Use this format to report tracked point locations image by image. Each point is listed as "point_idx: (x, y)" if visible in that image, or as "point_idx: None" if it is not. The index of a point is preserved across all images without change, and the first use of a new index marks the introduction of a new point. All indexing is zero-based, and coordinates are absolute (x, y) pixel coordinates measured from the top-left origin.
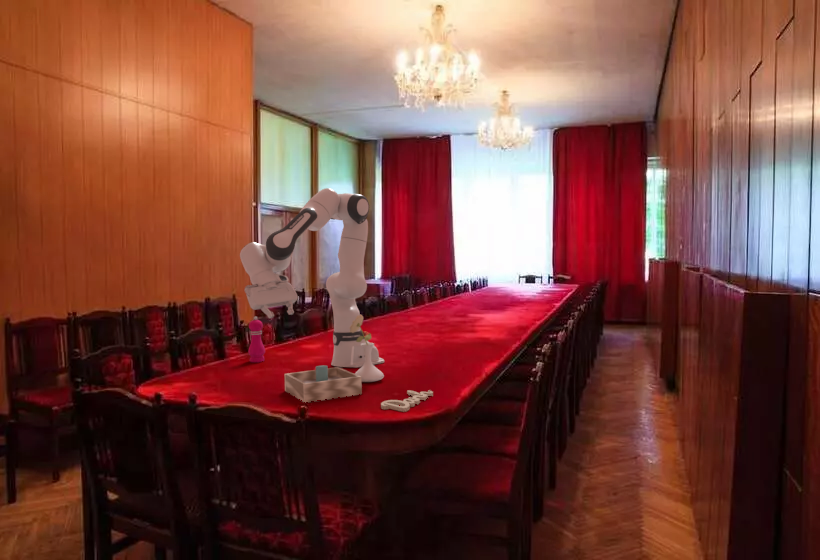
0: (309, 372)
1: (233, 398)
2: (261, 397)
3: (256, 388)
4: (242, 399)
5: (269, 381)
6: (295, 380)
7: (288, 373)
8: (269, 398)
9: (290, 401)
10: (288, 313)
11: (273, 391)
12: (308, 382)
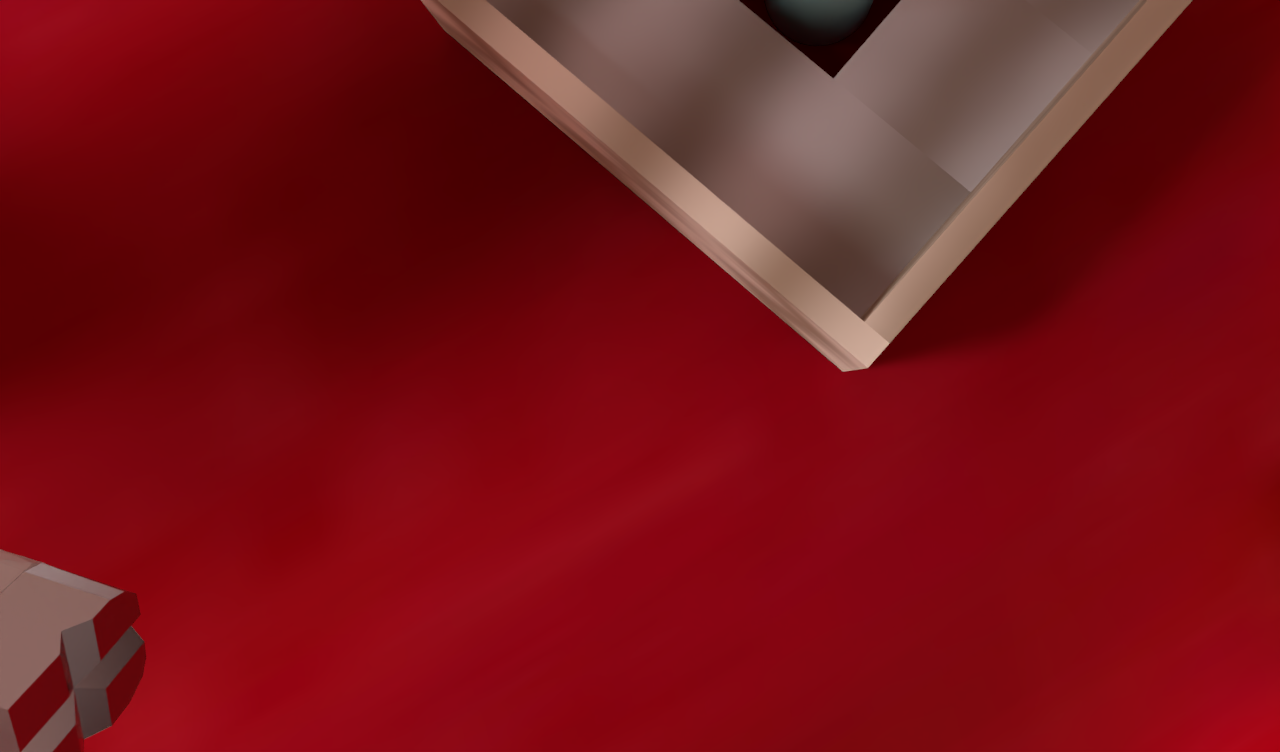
0: (675, 162)
1: (1227, 699)
2: (1124, 456)
3: (809, 708)
4: (1239, 591)
5: (508, 746)
6: (1120, 81)
7: (837, 334)
8: (1140, 360)
9: (1193, 109)
10: (113, 708)
11: (881, 474)
12: (799, 126)
